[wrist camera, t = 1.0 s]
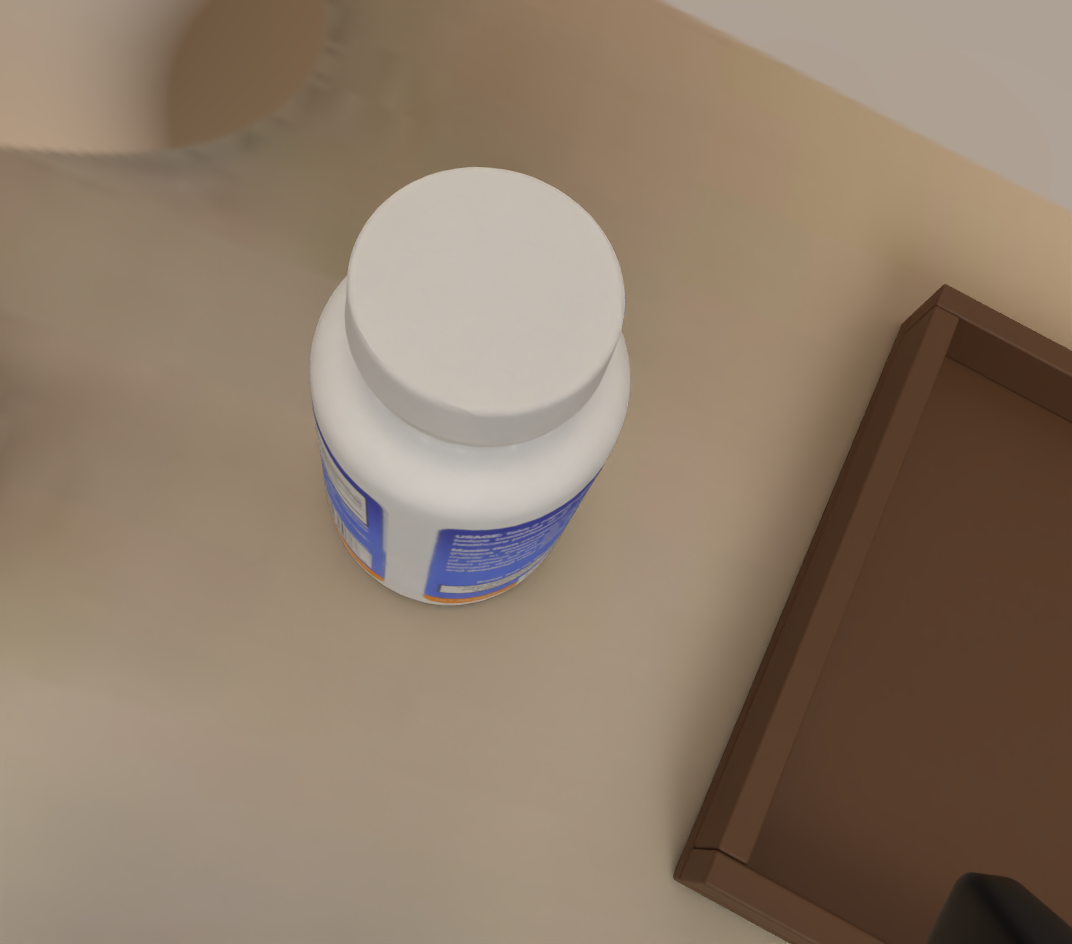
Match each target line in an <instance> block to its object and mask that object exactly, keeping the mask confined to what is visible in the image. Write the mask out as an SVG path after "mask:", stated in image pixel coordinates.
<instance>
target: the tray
mask: <svg viewBox="0 0 1072 944" xmlns="http://www.w3.org/2000/svg"><path fill="white" fill-rule="evenodd" d="M970 872H975V873H983V874H990V875H997V876H1005V877H1008V878H1011V879H1014V880H1016V881H1018V882H1019V883H1020V884H1021V885H1023V886H1024V887H1025V888H1026V889H1027V890H1029V891H1030V892H1031V893H1032V894H1033V895H1034V896H1036V897H1037V898H1038V899H1039V900H1040V901H1041V902H1043V903H1044V904H1045V905H1046V906H1047V907H1048V908H1050V909H1051V910H1052V911H1053V912H1054V913H1056V914H1057V915H1058V916H1059V917H1060V918H1061V919H1063V920H1064V921H1065V922H1066V923H1067V924H1068V925H1070V926H1071V927H1072V351H1070V350H1069V349H1067V348H1065V347H1063V346H1061V345H1059V344H1057V343H1055V342H1054V341H1052V340H1050V339H1048V338H1046V337H1044V336H1042V335H1040V334H1038V333H1037V332H1035V331H1033V330H1031V329H1029V328H1027V327H1025V326H1023V325H1021V324H1020V323H1018V322H1016V321H1014V320H1012V319H1010V318H1008V317H1006V316H1004V315H1003V314H1001V313H999V312H997V311H995V310H993V309H991V308H989V307H988V306H986V305H984V304H982V303H980V302H978V301H976V300H974V299H972V298H971V297H969V296H967V295H965V294H963V293H961V292H959V291H957V290H955V289H954V288H952V287H950V286H948V285H945V284H944V285H943V286H942V287H941V288H940V289H939V290H937V291H936V292H935V293H934V294H933V295H932V296H931V297H930V298H929V299H928V300H927V301H926V302H925V303H924V304H923V305H922V306H921V307H920V308H919V309H917V310H916V311H915V312H914V313H913V314H912V315H911V316H910V317H909V318H908V319H907V320H906V321H905V322H904V323H903V324H902V327H901V329H900V332H899V334H898V336H897V339H896V341H895V344H894V346H893V348H892V351H891V353H890V356H889V358H888V360H887V363H886V365H885V368H884V370H883V372H882V375H881V377H880V380H879V382H878V384H877V387H876V389H875V392H874V394H873V397H872V399H871V401H870V404H869V406H868V409H867V411H866V413H865V416H864V418H863V421H862V423H861V425H860V428H859V430H858V433H857V435H856V437H855V440H854V442H853V445H852V447H851V449H850V452H849V454H848V457H847V459H846V462H845V464H844V466H843V469H842V471H841V474H840V476H839V478H838V481H837V483H836V486H835V488H834V490H833V493H832V495H831V498H830V500H829V502H828V505H827V507H826V510H825V512H824V514H823V517H822V519H821V522H820V524H819V527H818V529H817V531H816V534H815V536H814V539H813V541H812V543H811V546H810V548H809V551H808V553H807V555H806V558H805V560H804V563H803V565H802V567H801V570H800V572H799V575H798V577H797V579H796V582H795V584H794V587H793V589H792V592H791V594H790V596H789V599H788V601H787V604H786V606H785V608H784V611H783V613H782V616H781V618H780V620H779V623H778V625H777V628H776V630H775V632H774V635H773V637H772V640H771V642H770V644H769V647H768V649H767V652H766V654H765V657H764V659H763V661H762V664H761V666H760V669H759V671H758V673H757V676H756V678H755V681H754V683H753V685H752V688H751V690H750V693H749V695H748V697H747V700H746V702H745V705H744V707H743V709H742V712H741V714H740V717H739V719H738V722H737V724H736V726H735V729H734V731H733V734H732V736H731V738H730V741H729V743H728V746H727V748H726V750H725V753H724V755H723V758H722V760H721V762H720V765H719V767H718V770H717V772H716V774H715V777H714V779H713V782H712V784H711V787H710V789H709V791H708V794H707V796H706V799H705V801H704V803H703V806H702V808H701V811H700V813H699V815H698V818H697V820H696V823H695V825H694V827H693V830H692V832H691V835H690V837H689V839H688V842H687V844H686V847H685V849H684V852H683V854H682V856H681V859H680V861H679V864H678V866H677V868H676V871H675V873H674V876H673V878H674V879H675V880H676V881H678V882H680V883H681V884H683V885H685V886H687V887H689V888H691V889H692V890H694V891H696V892H698V893H700V894H701V895H703V896H705V897H707V898H709V899H711V900H712V901H714V902H716V903H718V904H720V905H722V906H723V907H725V908H727V909H729V910H731V911H732V912H734V913H736V914H738V915H740V916H742V917H743V918H745V919H747V920H749V921H751V922H752V923H754V924H756V925H758V926H760V927H762V928H763V929H765V930H767V931H769V932H771V933H772V934H774V935H776V936H778V937H780V938H782V939H783V940H785V941H787V942H789V943H791V944H926V943H927V939H928V936H929V934H930V932H931V930H932V928H933V926H934V924H935V922H936V920H937V918H938V916H939V914H940V912H941V910H942V908H943V906H944V904H945V902H946V900H947V898H948V896H949V894H950V892H951V890H952V888H953V886H954V884H955V883H956V881H957V880H958V878H960V877H961V876H962V875H964V874H965V873H970Z"/></svg>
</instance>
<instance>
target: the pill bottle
mask: <svg viewBox="0 0 1072 944" xmlns="http://www.w3.org/2000/svg"><path fill="white" fill-rule="evenodd" d="M624 314H625V291H624V281H623V277H622V272H621V268H620V265H619V262H618V260H617V257H616V254H615V252H614V250H613V248H612V246H611V244H610V242H609V240H608V239H607V237H606V235H605V234H604V232H603V231H602V229H601V228H600V227H599V225H598V224H597V223H596V221H595V220H594V219H593V218H592V217H591V216H590V214H589V213H588V212H586V211H585V210H584V209H583V208H582V207H581V206H580V205H579V204H578V203H576V202H575V201H574V200H572V199H571V198H570V197H569V196H567V195H566V194H564V193H563V192H561V191H559V190H558V189H556V188H554V187H553V186H551V185H549V184H547V183H545V182H543V181H541V180H538V179H536V178H534V177H531V176H528V175H525V174H522V173H518V172H514V171H510V170H505V169H497V168H486V167H466V168H457V169H452V170H446V171H441V172H438V173H434V174H432V175H427V176H425V177H424V178H421V179H418V180H416V181H414V182H412V183H410V184H408V185H406V186H405V187H403V188H402V189H400V190H399V191H397V192H396V193H394V194H393V195H392V196H391V197H390V198H388V199H387V200H386V201H385V202H384V203H382V204H381V205H380V206H379V207H378V208H377V209H376V211H375V212H374V213H373V214H372V216H371V217H370V218H369V220H368V221H367V222H366V223H365V225H364V227H363V229H362V231H361V232H360V234H359V236H358V238H357V240H356V243H355V245H354V247H353V250H352V253H351V257H350V261H349V265H348V275H347V276H346V277H345V278H344V279H343V280H342V282H341V283H340V284H339V286H338V287H337V288H336V289H335V291H334V292H333V294H332V295H331V297H330V299H329V300H328V302H327V304H326V306H325V308H324V310H323V312H322V314H321V316H320V319H319V321H318V324H317V327H316V330H315V334H314V338H313V342H312V348H311V355H310V384H311V394H312V403H313V411H314V416H315V422H316V429H317V435H318V441H319V447H320V453H321V459H322V466H323V473H324V480H325V486H326V493H327V501H328V505H329V508H330V512H331V516H332V518H333V521H334V524H335V527H336V529H337V532H338V534H339V536H340V538H341V540H342V542H343V544H344V545H345V547H346V548H347V550H348V551H349V553H350V554H351V555H352V557H353V558H354V559H355V560H356V561H357V563H358V564H359V565H360V566H361V567H362V568H363V569H364V570H365V571H366V572H367V573H368V574H370V575H371V576H372V577H373V578H374V579H376V580H377V581H378V582H380V583H381V584H383V585H384V586H386V587H387V588H389V589H391V590H393V591H395V592H396V593H398V594H401V595H403V596H405V597H408V598H411V599H414V600H418V601H421V602H425V603H430V604H437V605H464V604H470V603H475V602H479V601H483V600H487V599H489V598H492V597H494V596H497V595H499V594H501V593H503V592H506V591H507V590H509V589H511V588H512V587H514V586H515V585H517V584H519V583H520V582H521V581H523V580H524V579H525V578H526V577H527V576H529V575H530V574H531V573H532V572H533V571H534V570H535V569H536V568H537V567H538V566H539V565H540V564H541V563H542V561H543V560H544V559H545V558H546V557H547V555H548V554H549V553H550V551H551V550H552V548H553V547H554V545H555V543H556V542H557V540H558V539H559V537H560V536H561V534H562V532H563V531H564V529H565V527H566V526H567V524H568V522H569V520H570V519H571V517H572V516H573V514H574V513H575V511H576V509H577V508H578V506H579V504H580V503H581V501H582V499H583V497H584V496H585V494H586V493H587V491H588V490H589V488H590V486H591V485H592V483H593V482H594V480H595V478H596V477H597V475H598V474H599V472H600V470H601V469H602V467H603V466H604V464H605V462H606V460H607V459H608V457H609V455H610V453H611V451H612V449H613V447H614V445H615V443H616V441H617V438H618V436H619V434H620V431H621V429H622V427H623V423H624V420H625V416H626V413H627V408H628V404H629V396H630V363H629V357H628V352H627V347H626V343H625V340H624V336H623V333H622V326H623V320H624Z"/></svg>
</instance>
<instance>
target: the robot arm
mask: <svg viewBox="0 0 1072 944" xmlns="http://www.w3.org/2000/svg"><path fill="white" fill-rule="evenodd" d="M926 944H1072V927H1071V926H1070V925H1068V924H1067V923H1066V922H1065V921H1064V920H1063V919H1061V918H1060V917H1059V916H1058V915H1057V914H1056V913H1054V912H1053V911H1052V910H1051V909H1050V908H1048V907H1047V906H1046V905H1045V904H1044V903H1043V902H1041V901H1040V900H1039V899H1038V898H1037V897H1036V896H1034V895H1033V894H1032V893H1031V892H1030V891H1029V890H1027V889H1026V888H1025V887H1024V886H1023V885H1021V884H1020V883H1019V882H1018V881H1016V880H1014V879H1011V878H1008V877H1005V876H997V875H990V874H983V873H975V872H970V873H965V874H964V875H962V876H961V877H960V878H958V880H957V881H956V883H955V884H954V886H953V888H952V890H951V892H950V894H949V896H948V898H947V900H946V902H945V904H944V906H943V908H942V910H941V912H940V914H939V916H938V918H937V920H936V922H935V924H934V926H933V928H932V930H931V932H930V934H929V936H928V939H927V943H926Z"/></svg>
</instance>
